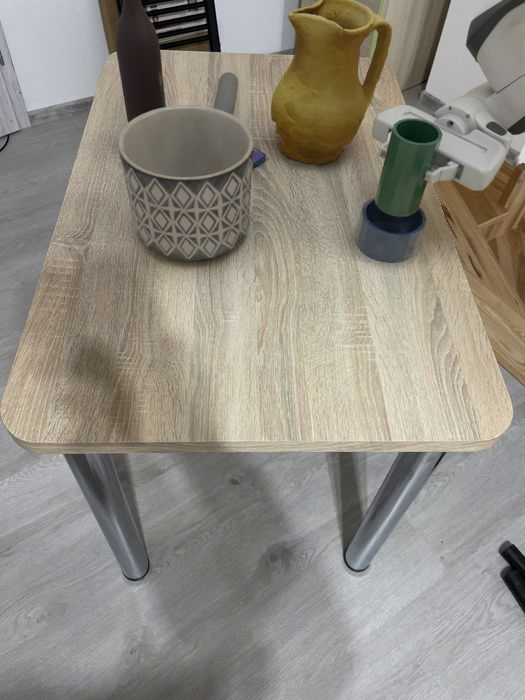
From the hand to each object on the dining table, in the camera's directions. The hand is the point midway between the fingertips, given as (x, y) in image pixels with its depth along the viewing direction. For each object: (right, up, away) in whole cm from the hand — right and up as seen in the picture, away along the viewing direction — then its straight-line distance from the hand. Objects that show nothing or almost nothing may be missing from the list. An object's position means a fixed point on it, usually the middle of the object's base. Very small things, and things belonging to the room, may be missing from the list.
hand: (405, 165), depth 78 cm
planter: (-32, -7, +12) cm, 35 cm away
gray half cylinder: (-29, +27, +38) cm, 55 cm away
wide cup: (0, -9, +12) cm, 15 cm away
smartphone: (-27, +7, +23) cm, 36 cm away
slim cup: (0, -4, +6) cm, 7 cm away
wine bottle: (-42, +11, +25) cm, 50 cm away
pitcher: (-10, +13, +29) cm, 33 cm away
